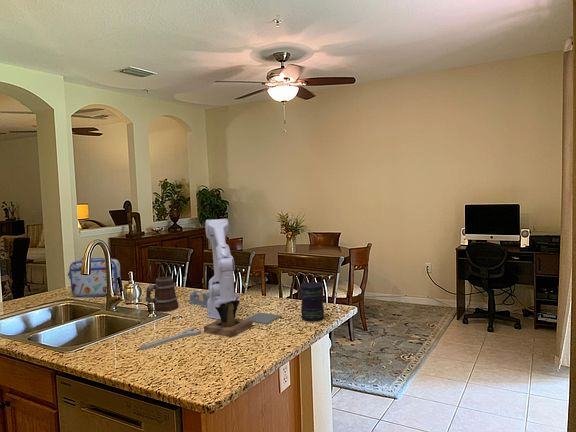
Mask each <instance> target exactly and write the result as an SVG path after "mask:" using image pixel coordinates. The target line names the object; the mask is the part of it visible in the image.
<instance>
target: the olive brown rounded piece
mask: <svg viewBox="0 0 576 432" xmlns="http://www.w3.org/2000/svg"><path fill="white" fill-rule="evenodd" d="M225 305H226V306H229V308H228V311H227V322H226V323H224V322H222V326H224V327H232V326H234V325H235V320H234V314H233V310H234V305H233V303H230V302H228V303H226V304H225Z"/></svg>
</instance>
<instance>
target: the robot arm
mask: <svg viewBox="0 0 576 432" xmlns="http://www.w3.org/2000/svg"><path fill="white" fill-rule="evenodd" d="M229 224H230V223H229V220H228V219H227V218H219V219H217V218H216V219H206V220H205V222H204V225H205V226H204V227H205V236H206V239H208V240H210V242H211V249H212V261H213V276H212V277H211V278H210V279H209V281H208V291H209V296H210V298H209V299H208V302H207V310H206V311H207V316H206V318H208V319H209V318H210V319H215V320H219V319H221V322H224V323H226V322H227V311H228V308H229V306H226V305H225V304H226V303H228V302H230V303H233V305H234V310H233V314H234V318H236V314H237V310H238V307H239V305H240V299H241V296H240V293H235V283H234V282H235V281H234V272H235V270H236V269H235V266H236V265H235V260H234V257H233V255H232V254H231V248H230V246H229V244H227V243H226V237H227V236H228V233H229V230H230V229H229V228H230V227H229V226H230V225H229Z"/></svg>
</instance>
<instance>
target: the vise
mask: <svg viewBox="0 0 576 432" xmlns="http://www.w3.org/2000/svg"><path fill="white" fill-rule="evenodd" d="M187 295H189V299H190V300H189V301H188V304H189V305H198V306H200V307H201V308H202V309H203V308H205V309H206V308H207V302H208V299H209V298H210V296H209V290H208V291H204V292H202V289H198V290H191V291H190V292H184V293H183V296H187Z"/></svg>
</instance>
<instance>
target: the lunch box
mask: <svg viewBox="0 0 576 432" xmlns="http://www.w3.org/2000/svg"><path fill="white" fill-rule="evenodd" d="M90 258H91V274H90V275H88V276H82V275H81V274H80V271H81V265H82V260H83V257H82V258H81V259H80V260H75V261H72V262H71V264H70V265H69V268H68V272H67V277H68V279H69V280H70V281H69V282H70V288H71V289H70V290H71V293H72V295H73V296H75V297H78V298H91V297H93V298H95V297H102V296H103V297H104V296H107V295H106V289H107V284H106V267H105V258H103V257H97V258H95V257H93V258H92V257H90ZM110 259H111V264H112V278H113V287H114V294H115V293H117V292H119V291H120V290H119V287H118V282H117V278H118V277H120V278H121V264H120V262H119V260H118V259H116V258H110Z"/></svg>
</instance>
